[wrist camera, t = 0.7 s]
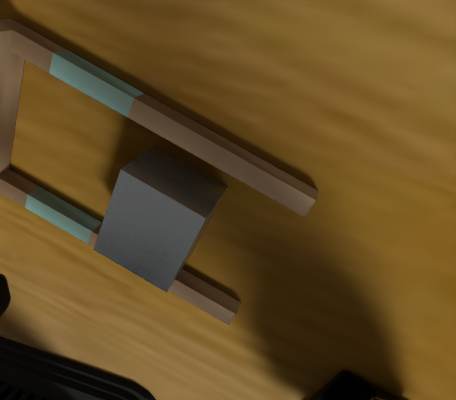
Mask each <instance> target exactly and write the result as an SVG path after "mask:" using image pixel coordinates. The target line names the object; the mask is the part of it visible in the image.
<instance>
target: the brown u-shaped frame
mask: <svg viewBox="0 0 456 400" xmlns="http://www.w3.org/2000/svg"><path fill="white" fill-rule="evenodd" d="M24 60H26V61H28V62H30V63H32V64H34V65H35V66H37V67H39V68H41V69H42V70H44V71H46V72H48V73H50V74H51V75H53V76H55V77H57V78H58V79H60V80H62V81H64V82H66V83H67V84H69V85H71V86H73V87H74V88H76V89H78V90H80V91H81V92H83V93H85V94H87V95H89V96H90V97H92V98H94V99H96V100H97V101H99V102H101V103H103V104H105V105H106V106H108V107H110V108H112V109H113V110H115V111H117V112H119V113H121V114H122V115H124V116H126V117H128V118H129V119H131V120H133V121H135V122H137V123H138V124H140V125H142V126H144V127H145V128H147V129H149V130H151V131H152V132H154V133H156V134H158V135H160V136H161V137H163V138H165V139H167V140H168V141H170V142H172V143H174V144H176V145H177V146H179V147H181V148H183V149H184V150H186V151H188V152H190V153H192V154H193V155H195V156H197V157H199V158H200V159H202V160H204V161H206V162H207V163H209V164H211V165H213V166H215V167H216V168H218V169H220V170H222V171H223V172H225V173H227V174H229V175H231V176H232V177H234V178H236V179H238V180H239V181H241V182H243V183H245V184H247V185H248V186H250V187H252V188H254V189H255V190H257V191H259V192H261V193H263V194H264V195H266V196H268V197H270V198H271V199H273V200H275V201H277V202H278V203H280V204H282V205H284V206H286V207H287V208H289V209H291V210H293V211H294V212H296V213H298V214H300V215H302V216H303V217H305V215H306V214H307V212H308V211H309V209H310V208H311V207H312V205H313V204H314V202H315V201H316V197H317V192H318V190H316V189H314V188H313V187H311V186H309V185H307V184H305V183H304V182H302V181H300V180H298V179H296V178H295V177H293V176H291V175H289V174H288V173H286V172H284V171H282V170H280V169H279V168H277V167H275V166H273V165H271V164H270V163H268V162H266V161H264V160H263V159H261V158H259V157H257V156H255V155H254V154H252V153H250V152H248V151H246V150H245V149H243V148H241V147H239V146H238V145H236V144H234V143H232V142H230V141H229V140H227V139H225V138H223V137H221V136H220V135H218V134H216V133H214V132H213V131H211V130H209V129H207V128H205V127H204V126H202V125H200V124H198V123H197V122H195V121H193V120H191V119H189V118H188V117H186V116H184V115H182V114H180V113H179V112H177V111H175V110H173V109H172V108H170V107H168V106H166V105H164V104H163V103H161V102H159V101H157V100H155V99H154V98H152V97H150V96H148V95H147V94H145V93H143V92H141V91H139V90H138V89H136V88H134V87H132V86H130V85H129V84H127V83H125V82H123V81H122V80H120V79H118V78H116V77H114V76H113V75H111V74H109V73H107V72H106V71H104V70H102V69H100V68H98V67H97V66H95V65H93V64H91V63H89V62H88V61H86V60H84V59H82V58H81V57H79V56H77V55H75V54H73V53H72V52H70V51H68V50H66V49H64V48H63V47H61V46H59V45H57V44H56V43H54V42H52V41H50V40H48V39H47V38H45V37H43V36H41V35H39V34H38V33H36V32H34V31H32V30H31V29H29V28H27V27H25V26H23V25H22V24H20V23H18V22H16V21H14V20H13V19H11V18H9V19H0V193H1V194H2V195H4V196H6V197H8V198H9V199H11V200H13V201H14V202H16V203H18V204H20V205H21V206H23V207H25V208H27V209H28V210H30V211H32V212H34V213H35V214H37V215H39V216H40V217H42V218H44V219H46V220H47V221H49V222H51V223H53V224H54V225H56V226H58V227H60V228H61V229H63V230H65V231H66V232H68V233H70V234H72V235H73V236H75V237H77V238H79V239H80V240H82V241H84V242H86V243H87V244H89V245H91V246H92V247H94V246H95V243H96V240H97V237H98V234H99V231H100V229H101V226H102V222H100V221H98V220H97V219H95V218H93V217H91V216H90V215H88V214H86V213H84V212H83V211H81V210H79V209H78V208H76V207H74V206H72V205H71V204H69V203H67V202H65V201H64V200H62V199H60V198H58V197H57V196H55V195H53V194H51V193H50V192H48V191H46V190H44V189H43V188H41V187H39V186H37V185H36V184H34V183H32V182H31V181H29V180H27V179H25V178H24V177H22V176H20V175H18V174H17V173H15V172H13V171H11V170H10V169H9V167H10V160H11V153H12V146H13V139H14V131H15V124H16V117H17V110H18V103H19V96H20V89H21V82H22V75H23V67H24ZM169 291H170V292H172V293H174V294H176V295H177V296H179V297H181V298H183V299H184V300H186V301H188V302H189V303H191V304H193V305H195V306H196V307H198V308H200V309H202V310H203V311H205V312H207V313H209V314H210V315H212V316H214V317H215V318H217V319H219V320H221V321H222V322H224V323H226V324H228V325H229V324H230V322H231V321H232V320H233V318H234V317H235V315H236V313H237V311H238V308H239V306H240V303H241V302H239V301H238V300H236V299H234V298H232V297H231V296H229V295H227V294H225V293H224V292H222V291H220V290H219V289H217V288H215V287H213V286H212V285H210V284H208V283H206V282H205V281H203V280H201V279H199V278H198V277H196V276H194V275H192V274H191V273H189V272H187V271H185V270H184V269H181V271H180V273H179V274H178V276H177V277H176V279H175V280H174V282H173V283H172V285H171V287H170V288H169Z"/></svg>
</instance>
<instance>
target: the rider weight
mask: <svg viewBox="0 0 456 400" xmlns="http://www.w3.org/2000/svg"><path fill="white" fill-rule="evenodd" d="M226 189H227V186H225V185H224V184H222V183H220V182H218V181H217V180H215V179H213V178H212V177H210V176H208V175H206V174H205V173H203V172H201V171H199V170H198V169H196V168H194V167H192V166H191V165H189V164H187V163H185V162H184V161H182V160H180V159H178V158H177V157H175V156H173V155H171V154H170V153H168V152H166V151H165V150H163V149H161V148H159V147H158V146H156V145H153V146H152V147H150V148H149V149H148V150H146V151H145V152H143V153H142V154H141V155H139V156H138V157H137V158H135V159H134V160H133V161H131V162H130V163H128V164H127V165H126V166H124V167H123V168H122V169H121V170H120V173H119V176H118V179H117V182H116V184H115V187H114V190H113V193H112V196H111V199H110V202H109V205H108V208H107V211H106V214H105V217H104V220H103V223H102V226H101V229H100V231H99V234H98V237H97V240H96V243H95V246H94V249H93V250H95V251H97V252H99V253H100V254H102V255H104V256H105V257H107V258H109V259H111V260H112V261H114V262H116V263H117V264H119V265H121V266H123V267H124V268H126V269H128V270H129V271H131V272H133V273H134V274H136V275H138V276H140V277H141V278H143V279H145V280H146V281H148V282H150V283H152V284H153V285H155V286H157V287H158V288H160V289H162V290H164V291H165V292H167V291H168V290H169V288H170V287H171V285H172V283H173V282H174V280H175V279H176V277H177V276H178V274H179V273H180V271H181V269H182V268H183V266H184V265H185V263H186V262H187V260H188V259H189V257H190V255H191V254H192V252H193V250H194V248H195V246H196V244H197V243H198V241H199V239H200V237H201V235H202V233H203V231H204V230H205V228H206V226H207V224H208V222H209V220H210V218H211V217H212V215H213V213H214V211H215V209H216V207H217V205H218V204H219V202H220V200H221V198H222V196H223V194H224V193H225V191H226Z"/></svg>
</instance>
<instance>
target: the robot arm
mask: <svg viewBox="0 0 456 400" xmlns="http://www.w3.org/2000/svg"><path fill="white" fill-rule="evenodd" d="M10 299H11V296H10V292H9V287H8V283H7V279H6V277H5V276H4V275H3V274H0V318H1V316H2V315H3V313H4V312H5V310H6V309H7V307H8V305H9V303H10ZM346 378H347V379H346ZM311 400H398V399H396V398H395V397H393V396H391V395H389V394H388V393H386V392H384V391H382V390H381V389H379V388H377V387H375V386H374V385H372V384H370V383H368V382H367V381H365V380H363V379H362V378H360V377H358V376H356V375H355V374H353V373H351V372H349V371H342V372H340V373H339V374H338V375H337V376H336V377H335V378H334V379H332V380H331V381H330V382H329V383H328V384H327V385H326V386H325V387H324V388H323V389H322V390H321V391H320V392H318V393H317V394H316V395H315V396H314V397H313V398H312V399H311Z"/></svg>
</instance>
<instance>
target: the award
mask: <svg viewBox="0 0 456 400" xmlns="http://www.w3.org/2000/svg"><path fill="white" fill-rule="evenodd" d="M0 400H155V399H154V398H153V397H152V395H151V394H150V393H148V392H147V391H145V390H144V389H142V388H141V387H139V386H138V385H137V384H134V383H131V382H128V381H126V380H123V379H120V378H117V377H114V376H111V375H108V374H105V373H102V372H100V371H97V370H94V369H91V368H88V367H85V366H82V365H79V364H76V363H74V362H71V361H68V360H65V359H62V358H59V357H56V356H53V355H50V354H48V353H45V352H42V351H39V350H36V349H33V348H30V347H27V346H24V345H22V344H19V343H16V342H13V341H10V340H7V339H4V338H1V337H0Z"/></svg>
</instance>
